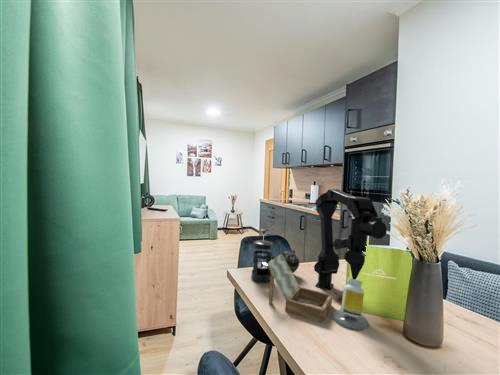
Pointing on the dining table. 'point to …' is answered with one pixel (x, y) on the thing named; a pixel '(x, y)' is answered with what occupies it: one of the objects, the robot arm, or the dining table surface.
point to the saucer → (350, 321)
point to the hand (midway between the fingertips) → (355, 275)
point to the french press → (261, 269)
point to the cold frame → (297, 292)
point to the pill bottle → (352, 298)
